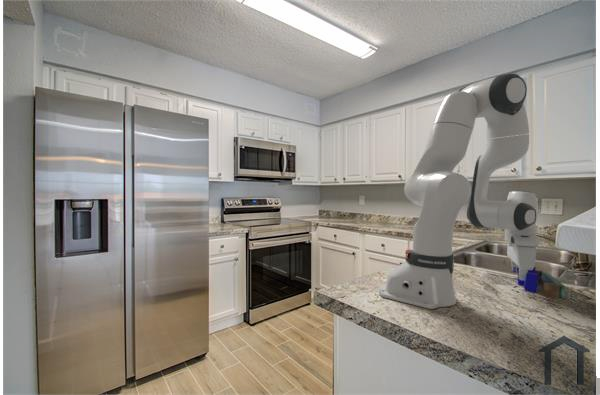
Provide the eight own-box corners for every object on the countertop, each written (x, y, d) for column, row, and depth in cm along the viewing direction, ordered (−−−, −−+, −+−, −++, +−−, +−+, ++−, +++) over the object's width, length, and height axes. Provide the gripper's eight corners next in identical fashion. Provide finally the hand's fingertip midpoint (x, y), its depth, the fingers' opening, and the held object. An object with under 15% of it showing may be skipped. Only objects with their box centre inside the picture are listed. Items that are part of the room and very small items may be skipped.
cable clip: (517, 279, 105) (519, 263, 105) (533, 282, 103) (535, 266, 102) (519, 289, 96) (521, 271, 95) (536, 293, 93) (538, 275, 93)
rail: (544, 296, 90) (545, 283, 90) (529, 279, 106) (529, 268, 106) (564, 299, 88) (565, 286, 88) (545, 281, 104) (545, 270, 104)
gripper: (503, 231, 111) (501, 266, 111) (516, 241, 92) (514, 283, 93) (523, 233, 108) (521, 269, 109) (540, 243, 90) (538, 286, 90)
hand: (518, 275), depth 101 cm, fingers open, 8 cm apart
